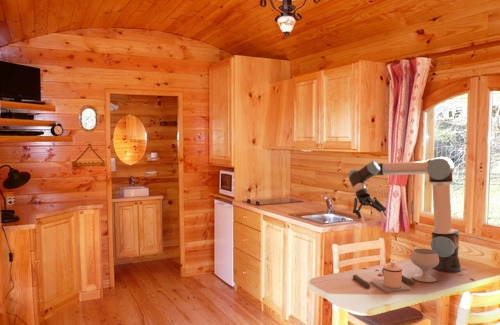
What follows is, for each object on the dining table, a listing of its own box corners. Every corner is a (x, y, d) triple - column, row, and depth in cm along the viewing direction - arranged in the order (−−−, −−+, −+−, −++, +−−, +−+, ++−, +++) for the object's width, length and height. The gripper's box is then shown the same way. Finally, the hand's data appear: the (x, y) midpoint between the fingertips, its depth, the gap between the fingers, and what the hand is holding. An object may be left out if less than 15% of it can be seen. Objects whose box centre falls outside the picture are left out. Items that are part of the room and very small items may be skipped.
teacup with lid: (406, 287, 205) (406, 264, 205) (391, 289, 202) (392, 266, 201) (389, 279, 216) (389, 257, 216) (375, 281, 213) (375, 259, 212)
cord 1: (352, 279, 220) (352, 274, 220) (356, 278, 221) (357, 274, 221) (366, 289, 206) (366, 284, 205) (371, 288, 206) (371, 284, 206)
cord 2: (393, 276, 226) (393, 271, 225) (397, 275, 226) (397, 271, 226) (410, 285, 211) (410, 281, 211) (414, 285, 211) (414, 280, 211)
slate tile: (394, 280, 217) (394, 278, 217) (410, 290, 204) (410, 288, 204) (370, 282, 214) (370, 280, 214) (385, 292, 201) (385, 290, 201)
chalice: (406, 279, 220) (406, 251, 219) (415, 273, 231) (416, 246, 230) (433, 285, 211) (434, 256, 210) (442, 278, 221) (443, 251, 220)
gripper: (377, 195, 252) (391, 224, 239) (340, 196, 247) (351, 226, 233) (382, 187, 247) (397, 217, 233) (344, 188, 241) (356, 219, 227)
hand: (374, 221), depth 233 cm, fingers open, 13 cm apart
